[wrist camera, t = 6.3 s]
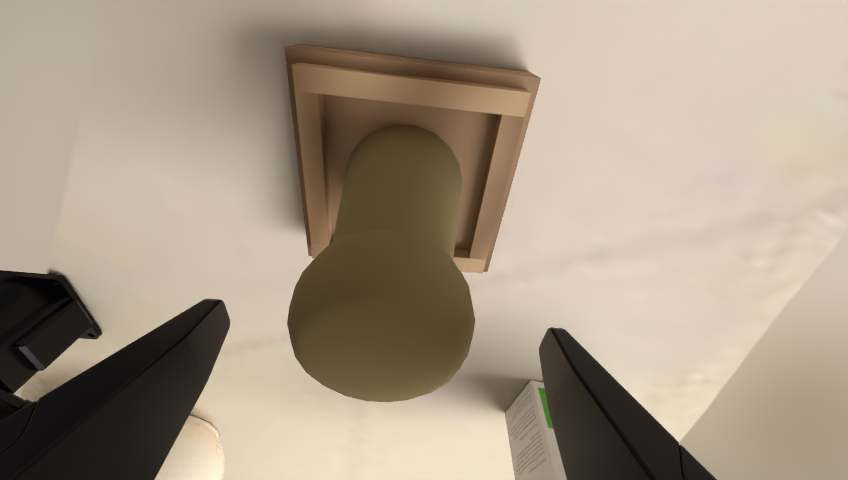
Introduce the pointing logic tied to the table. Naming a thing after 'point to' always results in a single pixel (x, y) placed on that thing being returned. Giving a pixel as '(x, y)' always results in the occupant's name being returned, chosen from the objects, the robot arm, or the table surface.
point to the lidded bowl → (194, 454)
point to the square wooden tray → (416, 106)
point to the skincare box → (533, 436)
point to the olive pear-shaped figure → (388, 275)
